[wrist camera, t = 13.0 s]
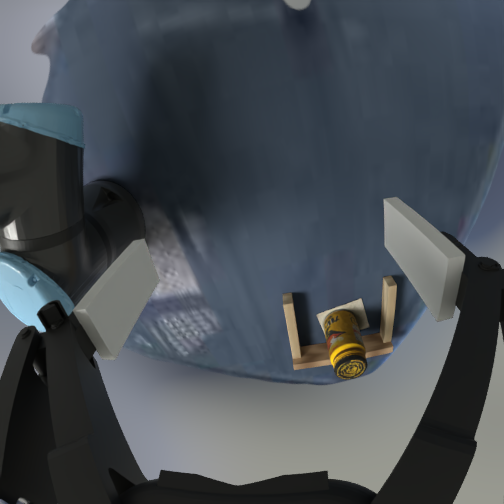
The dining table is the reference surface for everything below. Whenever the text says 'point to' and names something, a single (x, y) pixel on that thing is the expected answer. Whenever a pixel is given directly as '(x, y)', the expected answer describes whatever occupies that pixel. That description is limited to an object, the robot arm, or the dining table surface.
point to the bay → (372, 343)
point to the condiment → (345, 338)
